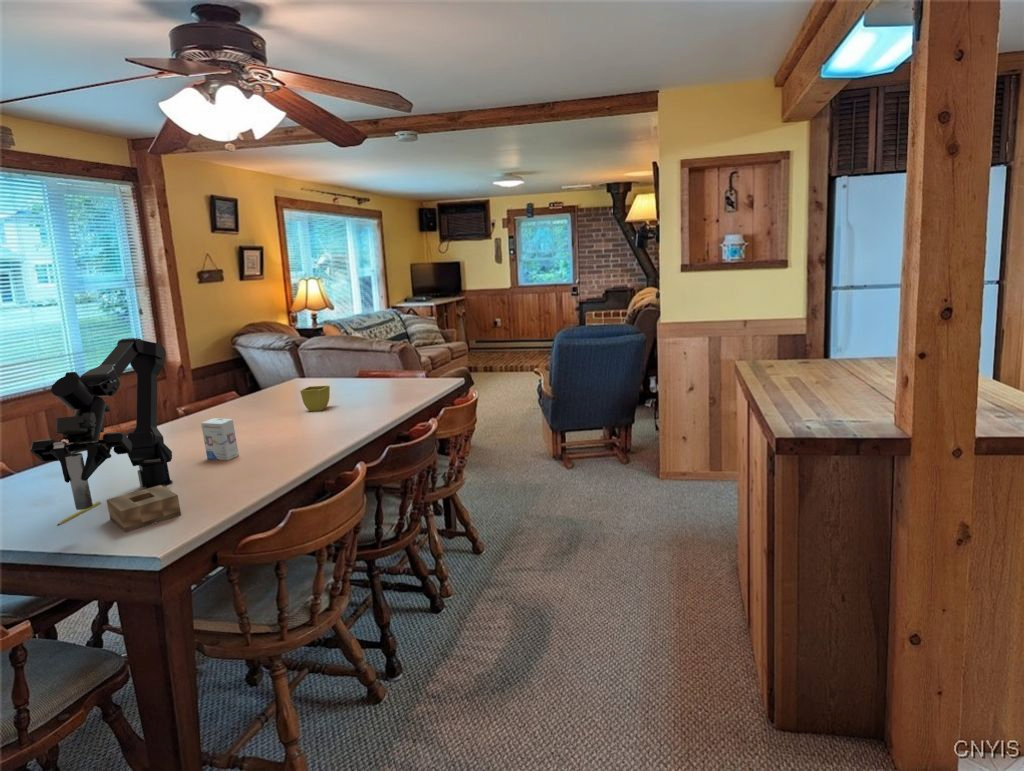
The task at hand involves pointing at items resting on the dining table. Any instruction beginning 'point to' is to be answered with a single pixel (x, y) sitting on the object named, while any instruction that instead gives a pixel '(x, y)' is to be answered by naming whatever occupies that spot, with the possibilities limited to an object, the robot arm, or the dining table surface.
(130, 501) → the socket block
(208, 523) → the dining table surface
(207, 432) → the ink box
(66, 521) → the pencil
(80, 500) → the pin
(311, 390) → the flower pot
